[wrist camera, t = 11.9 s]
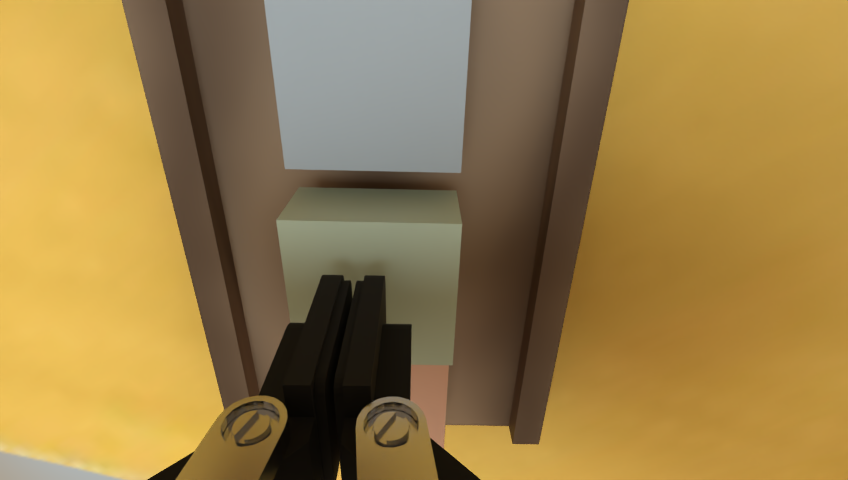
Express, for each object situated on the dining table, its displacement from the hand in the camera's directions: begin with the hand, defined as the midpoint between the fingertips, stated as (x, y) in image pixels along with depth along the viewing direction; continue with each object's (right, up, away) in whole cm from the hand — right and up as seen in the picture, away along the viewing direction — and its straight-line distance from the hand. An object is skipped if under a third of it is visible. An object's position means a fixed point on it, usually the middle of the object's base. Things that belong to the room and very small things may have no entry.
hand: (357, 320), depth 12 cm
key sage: (0, +2, +3) cm, 4 cm away
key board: (0, +3, +6) cm, 6 cm away
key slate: (0, +7, +2) cm, 8 cm away
